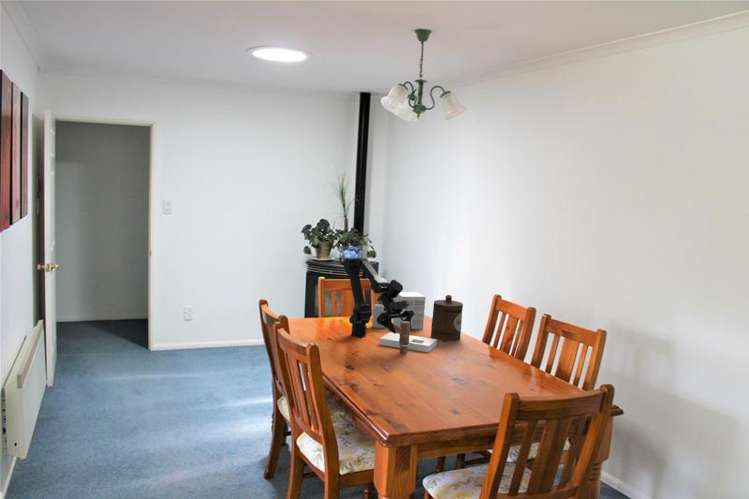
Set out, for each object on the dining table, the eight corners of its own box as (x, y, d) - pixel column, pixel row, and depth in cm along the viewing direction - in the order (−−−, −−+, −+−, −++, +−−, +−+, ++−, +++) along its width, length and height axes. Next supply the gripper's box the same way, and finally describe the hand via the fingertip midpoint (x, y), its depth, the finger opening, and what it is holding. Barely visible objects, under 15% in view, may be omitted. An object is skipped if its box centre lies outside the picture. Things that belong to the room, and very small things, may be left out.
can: (386, 326, 342) (388, 304, 340) (385, 329, 334) (387, 306, 333) (372, 325, 342) (374, 303, 341) (371, 328, 335) (372, 305, 333)
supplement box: (392, 323, 350) (394, 291, 348) (414, 323, 354) (417, 291, 352) (400, 329, 337) (402, 296, 335) (423, 329, 341) (426, 296, 339)
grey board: (379, 344, 303) (379, 338, 303) (389, 338, 316) (389, 332, 316) (428, 352, 295) (429, 345, 295) (436, 345, 308) (436, 339, 308)
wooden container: (461, 342, 317) (465, 298, 315) (431, 340, 317) (434, 296, 315) (458, 335, 332) (461, 293, 329) (429, 333, 332) (432, 291, 330)
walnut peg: (396, 353, 291) (398, 322, 289) (400, 350, 295) (402, 320, 293) (406, 354, 289) (408, 324, 287) (409, 352, 293) (411, 322, 292)
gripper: (381, 295, 288) (396, 324, 281) (413, 292, 300) (427, 320, 292) (370, 309, 295) (383, 338, 288) (401, 306, 307) (415, 333, 299)
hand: (403, 332), depth 292 cm, fingers open, 9 cm apart
